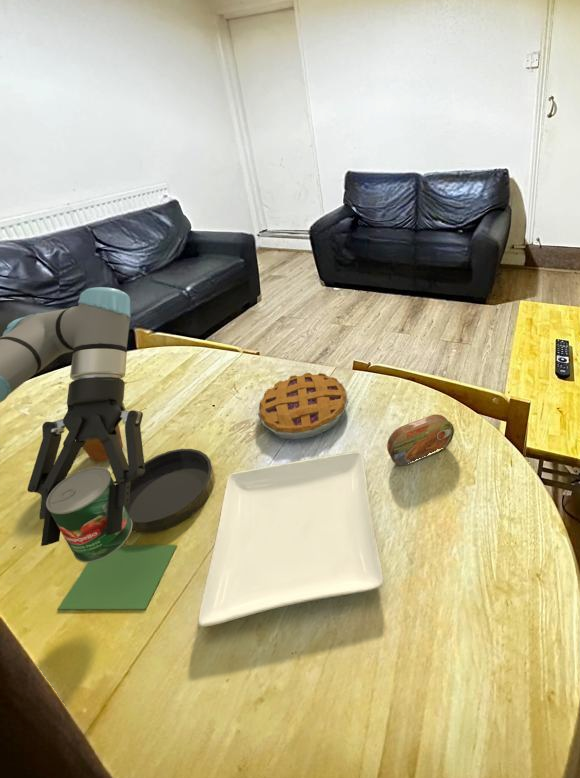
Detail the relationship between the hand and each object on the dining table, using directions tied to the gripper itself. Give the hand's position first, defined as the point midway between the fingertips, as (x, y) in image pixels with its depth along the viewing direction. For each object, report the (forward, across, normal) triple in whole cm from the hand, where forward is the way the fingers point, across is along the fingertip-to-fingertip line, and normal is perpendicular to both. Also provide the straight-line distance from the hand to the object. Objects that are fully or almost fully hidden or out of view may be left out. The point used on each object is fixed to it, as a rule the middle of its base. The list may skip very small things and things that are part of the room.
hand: (82, 538), depth 60 cm
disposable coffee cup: (-13, +15, -34) cm, 39 cm away
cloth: (+8, 0, -12) cm, 14 cm away
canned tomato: (+1, 0, -6) cm, 6 cm away
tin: (-3, -54, -24) cm, 59 cm away
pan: (-3, -3, -23) cm, 24 cm away
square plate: (+7, -29, -14) cm, 33 cm away
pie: (-16, -29, -37) cm, 50 cm away
